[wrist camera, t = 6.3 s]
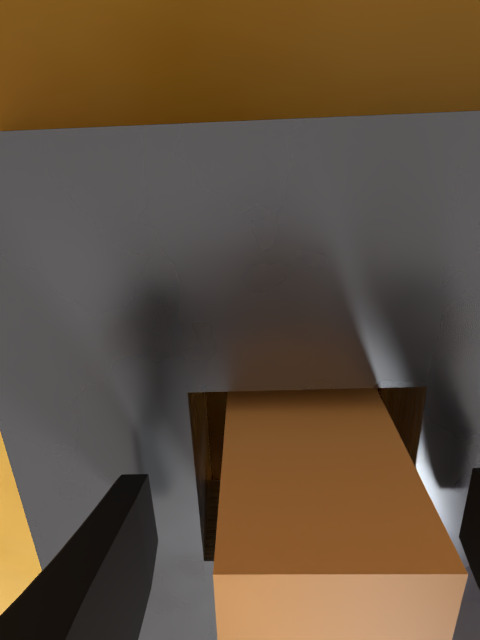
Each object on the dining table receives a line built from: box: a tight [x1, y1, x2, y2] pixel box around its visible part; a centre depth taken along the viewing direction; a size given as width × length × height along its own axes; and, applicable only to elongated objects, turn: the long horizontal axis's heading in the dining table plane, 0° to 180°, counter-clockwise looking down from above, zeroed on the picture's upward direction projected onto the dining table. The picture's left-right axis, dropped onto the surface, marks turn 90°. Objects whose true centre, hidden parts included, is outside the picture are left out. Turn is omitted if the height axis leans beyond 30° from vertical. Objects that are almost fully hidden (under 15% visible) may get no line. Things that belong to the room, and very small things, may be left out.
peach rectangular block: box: [213, 388, 468, 640], centre depth 10 cm, size 4×4×7 cm
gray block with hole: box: [0, 111, 480, 640], centre depth 12 cm, size 16×14×3 cm
